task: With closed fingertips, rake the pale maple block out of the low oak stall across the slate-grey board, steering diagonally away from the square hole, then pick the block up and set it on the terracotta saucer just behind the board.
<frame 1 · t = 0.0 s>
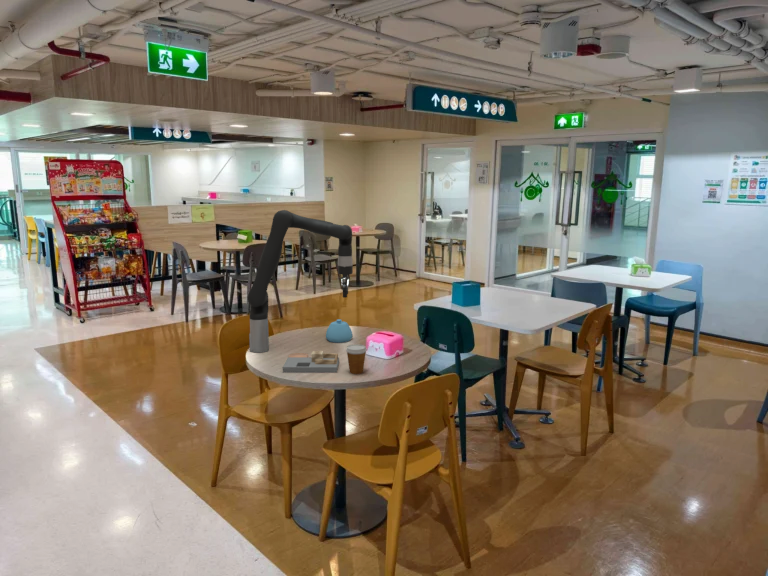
hand: (345, 295, 290), 29 cm above the table, fingers open, 8 cm apart
block: (317, 360, 270), point 2 cm above the table, touching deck
disposable coffee cup: (356, 372, 261), on the table
sugar bowl: (339, 340, 315), on the table
stall: (326, 365, 270), resting on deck
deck: (311, 367, 268), on the table
saucer: (298, 357, 282), on the table
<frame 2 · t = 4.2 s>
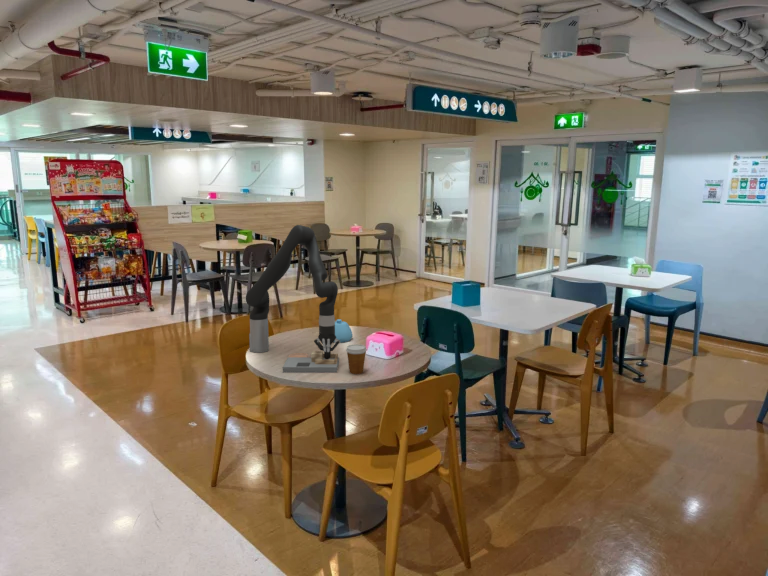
hand: (327, 358, 269), 4 cm above the table, fingers closed
block: (317, 360, 270), point 3 cm above the table, touching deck, gripper
everything else where it was.
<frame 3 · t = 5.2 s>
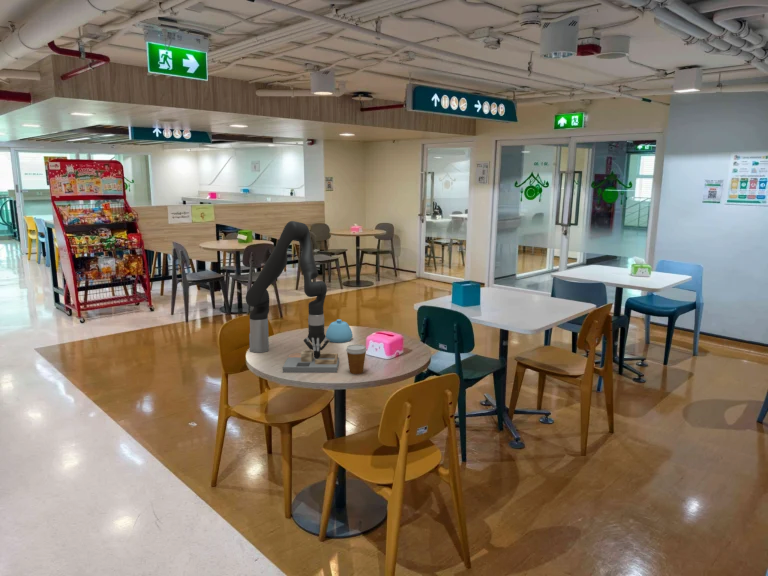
hand: (317, 358, 270), 4 cm above the table, fingers closed
block: (307, 360, 270), point 3 cm above the table, touching gripper
everything else where it was.
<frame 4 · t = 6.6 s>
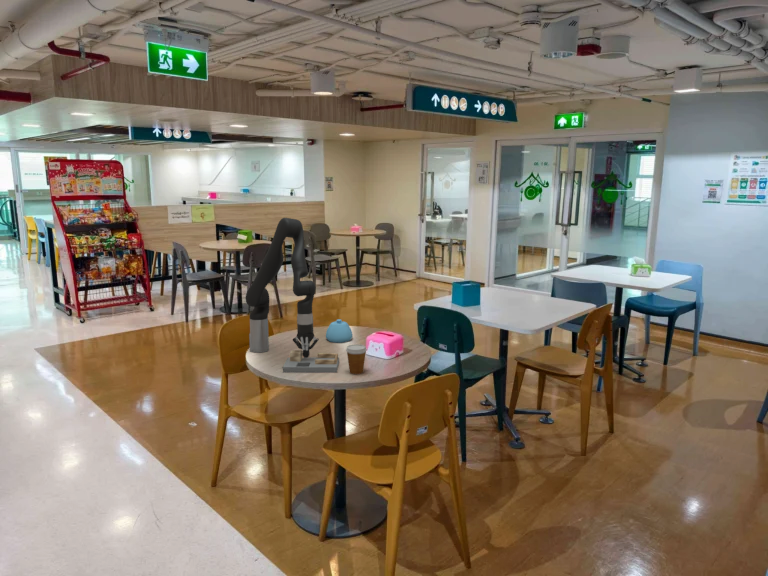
hand: (306, 357, 270), 4 cm above the table, fingers closed
block: (296, 359, 271), point 2 cm above the table, touching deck, gripper
everything else where it was.
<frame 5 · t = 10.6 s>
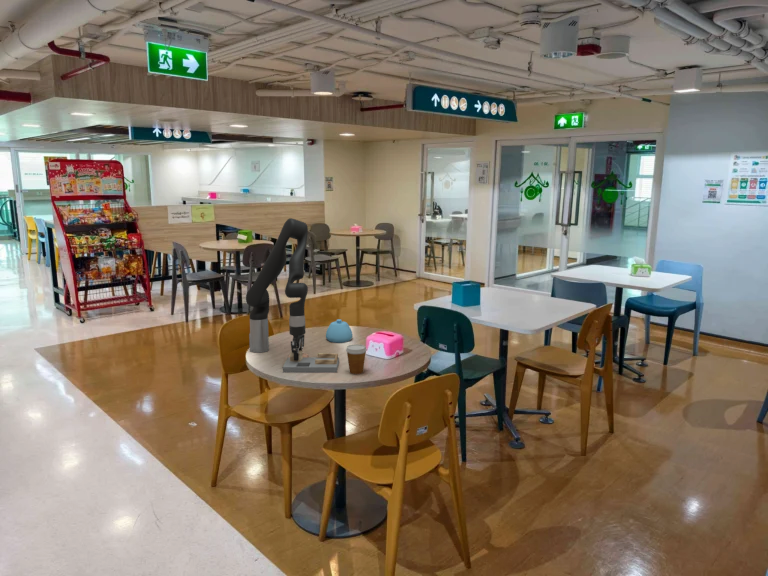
hand: (298, 358, 270), 3 cm above the table, fingers closed on block, 5 cm apart
block: (296, 359, 271), point 2 cm above the table, touching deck, gripper
everything else where it was.
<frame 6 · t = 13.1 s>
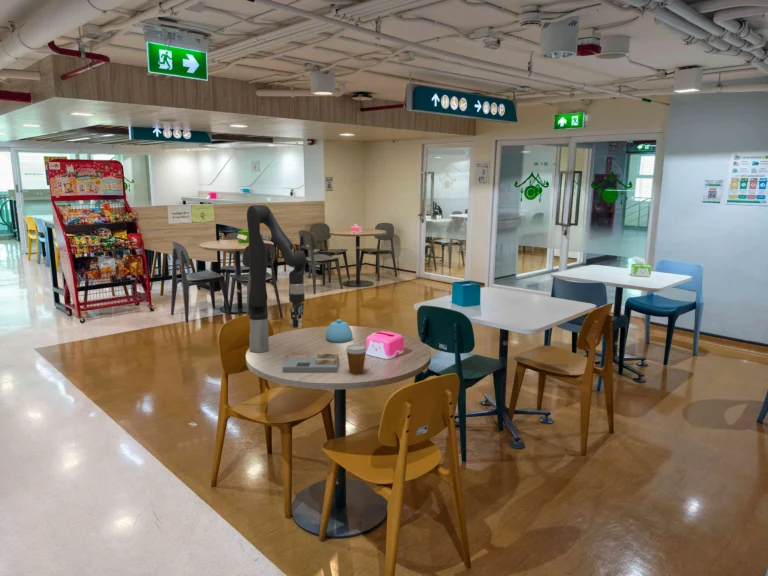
hand: (297, 325, 279), 17 cm above the table, fingers closed on block, 5 cm apart
block: (296, 326, 279), point 16 cm above the table, touching gripper
everything else where it was.
when the fingers open (3 cm above the table, at t = 15.5 s): block drops 1 cm, resting on saucer.
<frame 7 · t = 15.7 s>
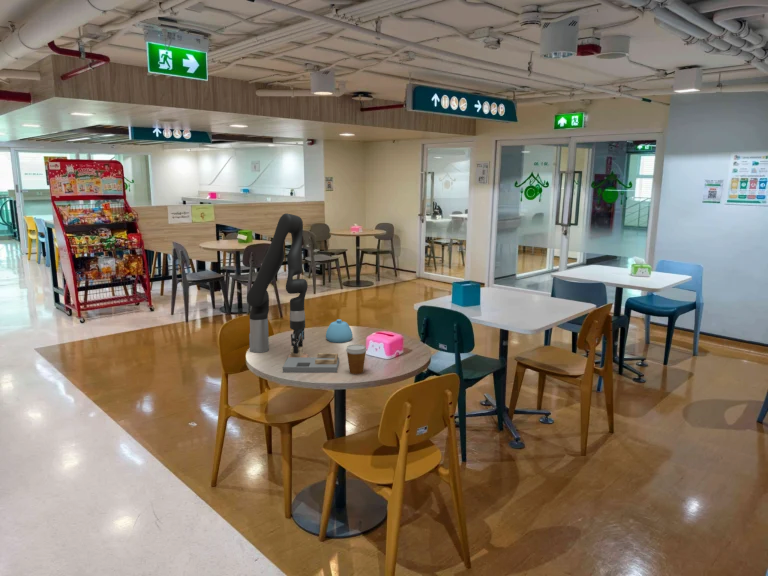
hand: (298, 351, 281), 4 cm above the table, fingers open, 6 cm apart
block: (296, 355, 282), point 1 cm above the table, touching saucer
everything else where it was.
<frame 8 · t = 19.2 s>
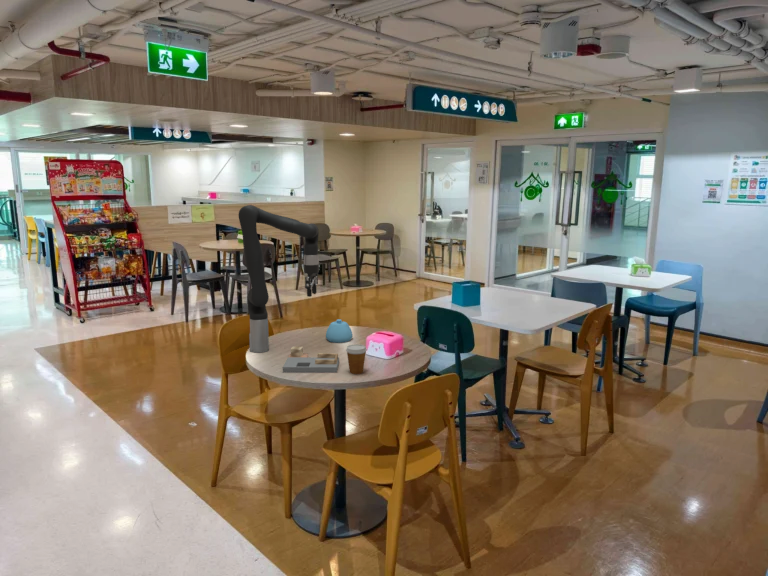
hand: (311, 294, 287), 30 cm above the table, fingers open, 8 cm apart
nothing on the table moved.
at the end: block inside the target area on the saucer (0.7 cm from its centre), point 1.2 cm above the saucer's base; the gripper is holding nothing; block touching saucer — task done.
